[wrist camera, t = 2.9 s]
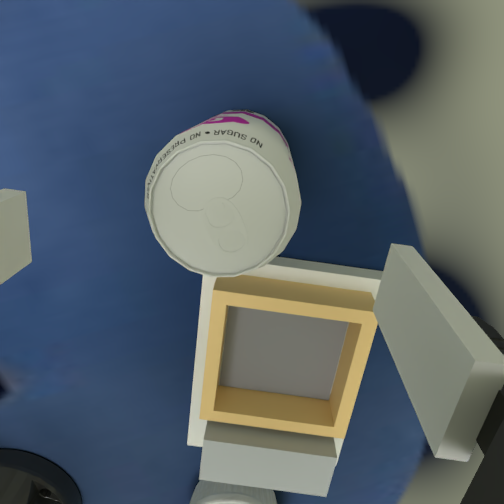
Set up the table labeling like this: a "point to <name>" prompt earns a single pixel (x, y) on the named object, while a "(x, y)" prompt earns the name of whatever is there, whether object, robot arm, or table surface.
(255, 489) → the ramekin
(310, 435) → the tan-rimmed shallow tray
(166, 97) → the table surface
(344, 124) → the table surface
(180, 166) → the supplement can
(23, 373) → the table surface
